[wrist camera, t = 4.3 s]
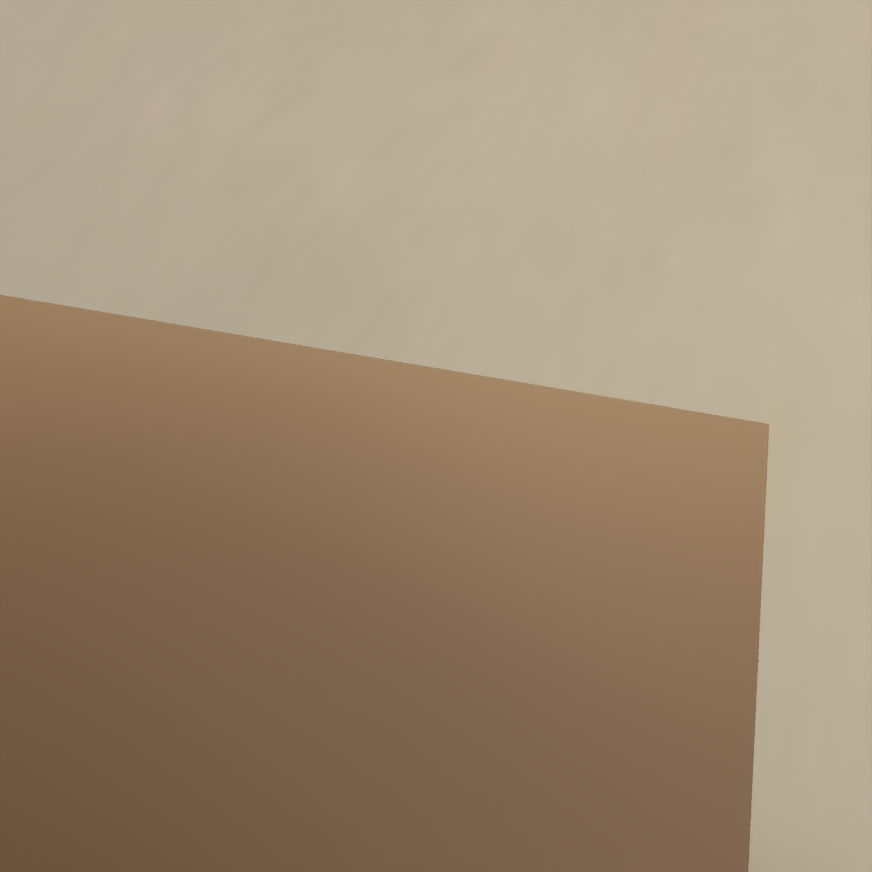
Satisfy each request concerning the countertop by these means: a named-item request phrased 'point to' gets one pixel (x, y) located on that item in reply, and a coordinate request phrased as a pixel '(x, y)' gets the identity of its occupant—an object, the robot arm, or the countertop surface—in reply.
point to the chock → (363, 613)
